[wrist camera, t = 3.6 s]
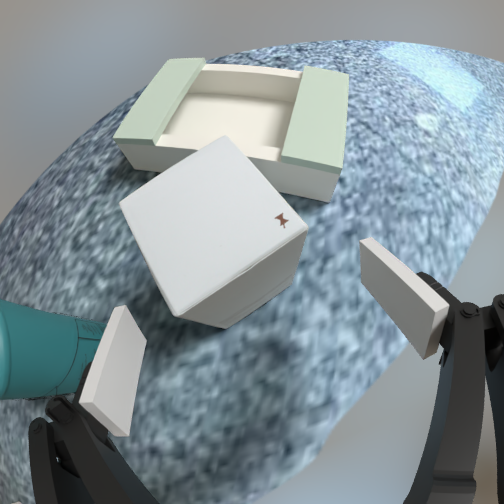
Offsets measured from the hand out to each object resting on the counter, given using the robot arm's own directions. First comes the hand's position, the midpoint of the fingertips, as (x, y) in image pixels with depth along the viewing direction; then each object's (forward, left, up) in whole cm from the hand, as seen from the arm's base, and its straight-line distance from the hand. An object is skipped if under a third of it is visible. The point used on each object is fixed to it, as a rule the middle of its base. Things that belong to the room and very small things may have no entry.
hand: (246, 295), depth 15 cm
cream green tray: (-7, +19, -10) cm, 22 cm away
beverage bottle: (-13, -8, -10) cm, 18 cm away
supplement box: (-3, +3, -10) cm, 11 cm away
